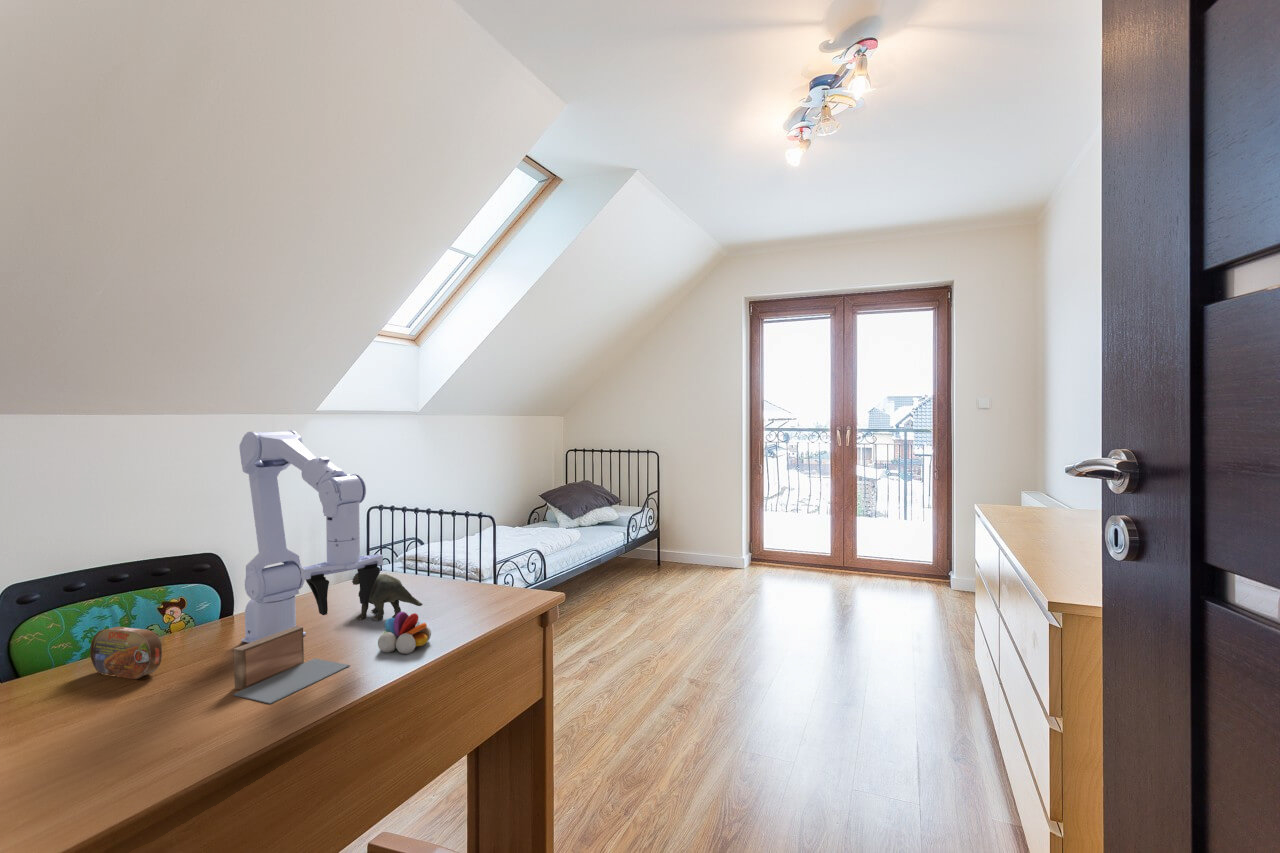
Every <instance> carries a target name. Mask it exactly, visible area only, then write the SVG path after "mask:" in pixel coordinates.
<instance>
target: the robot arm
mask: <svg viewBox="0 0 1280 853" xmlns="http://www.w3.org/2000/svg"><path fill="white" fill-rule="evenodd" d="M239 456H240V463H241V467H242V469H241V470H242V472H243V473H244V474H247V475H248V480H249V481H248V482H249V488H250V495H251V503H252V512H253V517H254V526H255V533H256V534H255V535H256V541H257V549H258V552H257V554H256V555H255V556H253V558H252V559H251V560H250V561H249V562H248V563H247V564H246V565H245V578H244V590H245V593H246V595H247V596H248V597H249V598H250V599H249V601H248V603H247V604H246V606H245V609H244V633H245V634H244V635H245V637H244V638H242V639H240V640H241V642H244V643H246V644H248V643H251V642H254V641H256V640H259V639H262V638H264V637H267V636H270V635H273V634H275V633H278V632H281V631H284V630H286V629H289V628H292V627H294V626H297V617H296V614H297V611H296V608H297V604H296V596H297V595H299V594H300V591H299V590H301V589H302V588H303V586H304V584H305V582H306V584H307V585H308V587H309V589H310V590H311V593H312V594H313V597H314V599H315V601H316V604H317V608H318V614H320V615H322V616H326V615H328V611H329V609H328V607H329V606H328V594H329V592H328V591H329V587H330V586H329V585H330V581H329V580H328V579H327V578H326V576H328V575H333V574H339V573H343V572H344V573H345V572H347V571H354V570H357V573H358V576H359V584H358V585H359V591H360V598H359V604H361V605H362V604H363V605H368V602H369V598H370V594H371V591H372V588H373V585H374V583H375V581H376V579H377V577H378V575H380V574H381V568H380V567H379V566H383V565H384V555H382V554H379V553H377V554H370V555H369V554H368V555H361V553H360V552H361V548H360V547H361V545H360V544H361V541H360V540H361V539H360V538H361V536H360V535H361V534H360V532H361V531H360V529H361V528H360V525H361V524H360V504H361V503H363V501H364V500H365V497H366V494H367V486H366V483H365V481H364V479H363V478H362V477H361V476H360V475H359V473H358V474H357V473H353V474H349V473H345V472H344V471H343V469H341V468H339V467H338V466H336V465H335V464H334V463H333V462H332V461H331V459H330V458H329V457H327V456H317V457H316V456H315V455H314V454H313V453H312V452H311V451H309V449H308V448H306V447H305V445H304V444H303V438H302V436H301V434H298V433H297V432H296V431H295V430H284V431H283V430H280V431H254V430H253V431H252V430H251V431H247V432H246V433H245V434H244V436H243V437H242V438H241V440H240V443H239ZM291 465H292V466H294V468H295V467H296V468H297V469H299V471H301V474H300V475H301V478H302V479H303V481H304V482H305V483H307V484H308V485H309V486H310V487H311V488H313V489H314V490H315V491H316V492H318V496H319V502H320V503H321V505H322V514H323V516H324V517H325V518H326V521H325V522H326V528H325V529H326V532H325V533H326V561H323V562H319V563H315V564H313V565H308V566H303V565H302V563H301V559H300V555H299V554H298V553H296V552H294V551H292V550H289V549H288V548H287V542H286V540H287V539H286V534H285V526H284V525H285V524H284V518H283V511H282V503H281V497H280V496H281V495H280V490H279V489H280V488H279V481H278V476H279V474H280V473H281V472H282V471H284V470H287V468H289V467H290V466H291ZM279 563H282V564H279ZM276 564H277V565H276ZM271 565H274V566H271ZM268 566H269V567H268ZM306 634H307V632H306V631H303V636H305V635H306Z"/></svg>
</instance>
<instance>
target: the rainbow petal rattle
mask: <svg viewBox="0 0 1280 853" xmlns="http://www.w3.org/2000/svg"><path fill="white" fill-rule="evenodd" d="M418 621H419V614H418V613H415V612H414V613H411V614H410V615H409V614H408V613H407V612H405V611H401V612H399V613H398V614H397V615H396V617H395V618H392V617H389V618H387V619H386V620H385V622H384V628H385V631H384V632H382V633H381V634H380V636H379V638H378V639H377V646H378V649H379V650H380V651H381V652H382V653H383V652H384V653H391V652H394V651H395V650H397V651H398V652H399V653H400V654H403V655H408V654H410V653H413V651H415V648H416V647H420V646H425V645H427V643H428V642H429V640H430V639H431V636H432V630H431V628H430V627H429V626H428V625H427V623H426V622H423V623H420V624H418Z"/></svg>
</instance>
